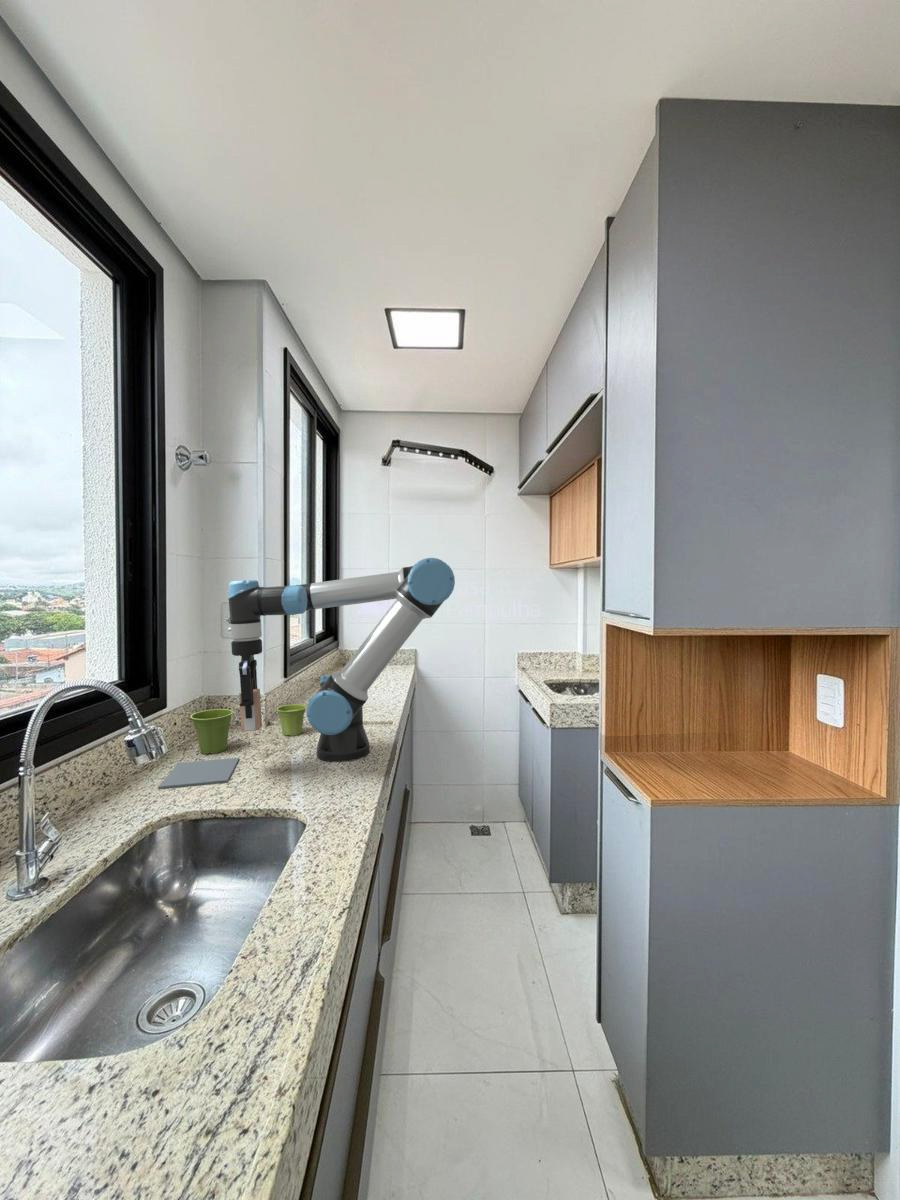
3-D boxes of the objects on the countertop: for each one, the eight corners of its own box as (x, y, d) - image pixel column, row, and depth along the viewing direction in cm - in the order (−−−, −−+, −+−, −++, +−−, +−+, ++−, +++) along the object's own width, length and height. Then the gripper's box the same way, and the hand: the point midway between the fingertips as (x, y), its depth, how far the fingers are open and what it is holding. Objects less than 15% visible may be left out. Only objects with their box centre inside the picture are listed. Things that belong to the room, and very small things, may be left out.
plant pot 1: (182, 756, 160) (181, 718, 159) (207, 744, 171) (206, 708, 171) (219, 758, 157) (218, 719, 157) (242, 745, 169) (241, 709, 169)
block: (261, 725, 147) (259, 688, 147) (259, 730, 143) (257, 691, 142) (244, 727, 146) (242, 690, 146) (241, 731, 142) (239, 693, 141)
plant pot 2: (299, 728, 187) (298, 702, 187) (312, 733, 180) (311, 707, 180) (273, 733, 181) (272, 707, 181) (284, 739, 174) (283, 712, 174)
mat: (239, 759, 156) (239, 757, 155) (227, 782, 138) (227, 780, 138) (178, 765, 152) (178, 762, 152) (158, 789, 135) (158, 786, 135)
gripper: (237, 636, 151) (241, 720, 152) (224, 643, 134) (230, 738, 135) (265, 635, 153) (270, 718, 154) (257, 641, 136) (262, 735, 137)
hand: (251, 727), depth 144 cm, fingers closed on block, 4 cm apart
